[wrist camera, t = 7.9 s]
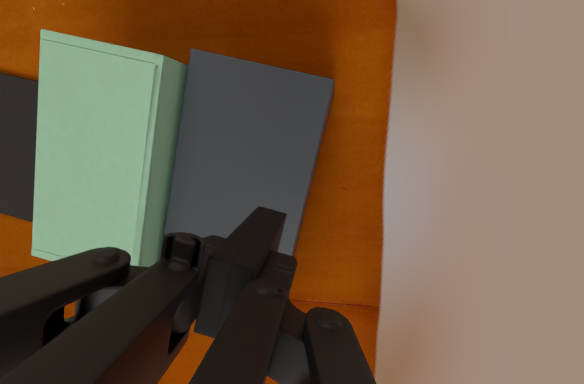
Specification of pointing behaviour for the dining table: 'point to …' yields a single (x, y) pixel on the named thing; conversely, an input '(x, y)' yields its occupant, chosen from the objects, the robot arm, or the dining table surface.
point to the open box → (104, 147)
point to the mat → (17, 145)
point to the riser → (246, 145)
